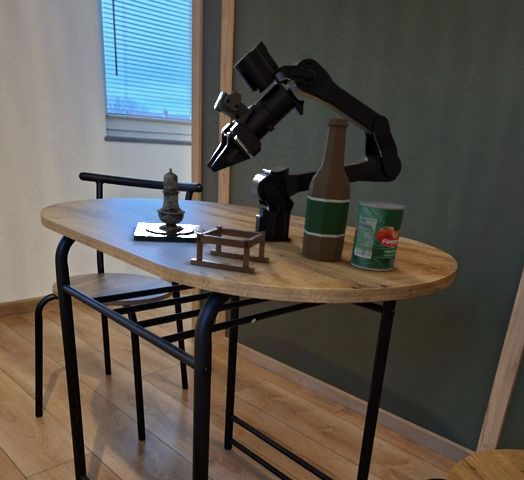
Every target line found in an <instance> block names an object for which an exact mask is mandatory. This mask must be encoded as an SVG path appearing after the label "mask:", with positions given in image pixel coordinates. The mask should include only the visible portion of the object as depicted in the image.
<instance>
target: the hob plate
mask: <svg viewBox="0 0 524 480" xmlns="http://www.w3.org/2000/svg"><path fill="white" fill-rule="evenodd" d="M164 224H165V223H152V222H151V223H149V222H138V223H137V225H136V227H135V230H134V234H133V241H140V242H141V241H142V242H166V243H167V242H170V243H196V244H197V233H203V232H204V228H203V226H202V225H199V224H198V225H197V224H179V225H180V226H182V227H183V228H184V230H181V231H166V230H161V229H159V228H158V227H159V226H161V225H164ZM176 225H178V224H176Z"/></svg>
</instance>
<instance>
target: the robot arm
mask: <svg viewBox="0 0 524 480" xmlns="http://www.w3.org/2000/svg"><path fill="white" fill-rule="evenodd" d="M233 68H234V70H235V71H236V73H237V75H238V76H239V77H240V79H242V81H243V83H244V84H245V86H247V88H248V89H249V90H250V92H251V93H254V92H258V94H262V93H263V92H264V91H266V90H267V89H268V90H267V91H266V92H265V93H264V94H263V95H262V96H261V97H260V98H259V99H258V100H256V102H255V103H252V104H249V105H248V106H247V105H245V104H244V102H242V94H241V93H239V92H238V91H236V90H233V91H232V92H230V93H229V94H228V92H226V91H221V92H220V94H219V96H218V98H217V100H216V102H215V105H214V107H213V109H214V110H215V111H217V112H219V113H222V114H224V116H225V115H226V117H228V118H230V119H232V120H233V121H232V123H227V124H226V125H225V126H224V127H223V128H222V129H221V132H220V144H219V145H218V147H217V148H216V150H215V152H214V153H213V155H212V156H211V157H210V159H209V161H208V162H207V164H206V166H207V168H208V169H209V170H211V171H212V172H213V173H217V172H220V171H222V170H225V169H227V168H229V167H232V166H234V165H238V164H239V163H243V162H245V161H249V160H251V158H255V157H256V156H257V155H258V154H259V153H260V152H261V151H262V142H261V141H262V140H263V139H264V138H265V137H266V136H267V135H268V134H269V133H273V131H274V130H276V128H275V127H277V125H278V124H280V122H281V121H283V120H284V119H285V118H286V117H287V116H288V115H289V114H290V113H291V112H293V113H294V114H295V116H303V115H304V105H305V100H303V99H298V97H297V96H299V97H302V98H304V99H307V100H309V101H313V102H316V103H320V104H322V105H323V106H325V107H327V108H328V109H330V110H331V111H333V112H334V113H335V114H337V115H339V116H340V117H342V119H347V120H348V122H349V123H351V124H352V125H354V126H356V128H358V129H360V130H362V131H363V132H364V156H362V157H361V158H360V157H359V158H358V159H357V160H355V161H353V162H348V163H344V170H345V172H346V174H347V177H348V179H349V183H350V184H351V183H356V182H357V183H358V182H370V183H391V182H393V181H394V182H395V180H397V179H398V177H399V175H400V174H401V171H402V161H401V158H400V156H399V153H398V147H397V144H396V141H395V139H394V136H393V135H392V132H391V126H390V125H391V124H390V121H389V119H388V118H387V117H386V116H385V115H383V114H380V113H379V112H377V111H376V110H375V109H373V108H371V107H370V106H369V105H367V104H366V103H364V102H363V101H361V100H360V99H358V98H357V97H356V96H353V95H352V94H351V93H349V92H348V91H347V90H345V89H344V88H342V87H341V86H340V85H338V84H337V83H336V82H335V81H334V79H333V78H332V76H331V75H330V73H329V72H328V71H327V70H326V69H325V68H324V67H323V66H322V64H320V62H318V61H317V60H316V59H313V58H310V57H308V58H304V59H301V60H299V61H297V62H294V63H293V64H291V65H287V64H283V65H281V66H279V65H278V63H277V62H276V61H275V59H274V58H273V57H272V55H271V53H270V52H269V50H268V48H267V46H266V44H265V43H264V42H263V41H259V42H258V43H257V44H256V45H255V46H254V47H253V48H252V49H250V50H249V51H248V52H246V53H244V54H243V56H242V57H241V58H240V59H238V61H237V62H236V63H235V64H234V65H233ZM272 84H273V85H272ZM271 85H272V86H271ZM270 86H271V87H270ZM285 86H287V88H285ZM269 87H270V88H269ZM296 95H297V96H296ZM318 170H319V168H315V169H309V170H304V171H299V172H298V171H297V172H290V168H289V167H286V166H281V165H279V166H276V167H274V168H270V169H267V168H263V169H262V171H263V172H259V173H257V174H255V176H254V177H253V179H252V181H251V184H250V185H251V186H250V187H251V188H250V189H251V192H252V194H253V196H254V197H255V198H256V199H257V201H258V203H259V206H260V207H259V208H258V214H256V216H255V230H254V232H261V231H263V232H266V237H265V242H267V241H268V242H269V241H272V242H273V241H279V242H280V241H283V242H286V241H287V242H289V241H292V238H291V237H289V235H290V234H289V233H290V223H291V213H292V210H293V208H294V205H295V202H294V201H293V199H292V197H293V196H294V195H297V194H298V193H302V192H308V191H309V186H310V183H311V181H312V179H313V176H314V175H315V174H316V172H317V171H318Z"/></svg>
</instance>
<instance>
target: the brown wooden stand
mask: <svg viewBox="0 0 524 480" xmlns="http://www.w3.org/2000/svg"><path fill="white" fill-rule="evenodd" d="M225 236H227V237H225ZM231 237H232V238H231ZM233 237H235V238H233ZM265 237H266V232H263V231H261V232H255V230H245V229H237V228H230V227H223V225H217V226H216V227H213V228H211V229H208V230H206V231H203V233H197V243H196V258H193V257H192V258H191V259H190V265H195V266H201V267H207V268H215V269H221V270H227V271H233V272H238V273H239V272H240V273H246V274H247V273H248V274H255V272H256V271H255V269H256V267H253V266H250V261H251V262H252V261H253V262H259V263H265V264H268V263H270V257H268V256H265V250H266V249H265V248H266V241H265ZM238 238H241V239H238ZM204 244H210V245H215V249H213V248H212V249H211V250H210V253H209V254H210V255H211V256H217V257H225V258H232V259H238V260H242V265H240V264H233V263H227V262H220V261H215V260H214V261H213V260H208V259H203V258H204V257H203V255H204V253H203V252H204ZM258 244H259V245H258ZM257 245H258V255H255V254H251V253H250V252H251V248H253V247H255V246H257ZM222 246H223V247H231V248H238V249H243V253H240V252H235V251H234V252H233V251H227V250H222Z"/></svg>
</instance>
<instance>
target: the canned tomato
mask: <svg viewBox="0 0 524 480" xmlns="http://www.w3.org/2000/svg"><path fill="white" fill-rule="evenodd" d="M358 205H359V206H358V211H357V218H356V225H355V231H354V239H353V245H352V252H351V258H350V259H351V260H350V262H349V263H350V265H351V266H353V267H355V268H357V269H360V270H366V271H373V272H389V271H392V270H394V266H395V261H396V257H397V251H398V246H399V241H400V235H401V231H402V229H401V228H402V225H403V224H402V223H403V219H404V212H405V209H406V206H405V205H403V204H400V203H399V204H398V203H394V202H386V201H376V200H375V201H373V200H362V201H359V204H358Z"/></svg>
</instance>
